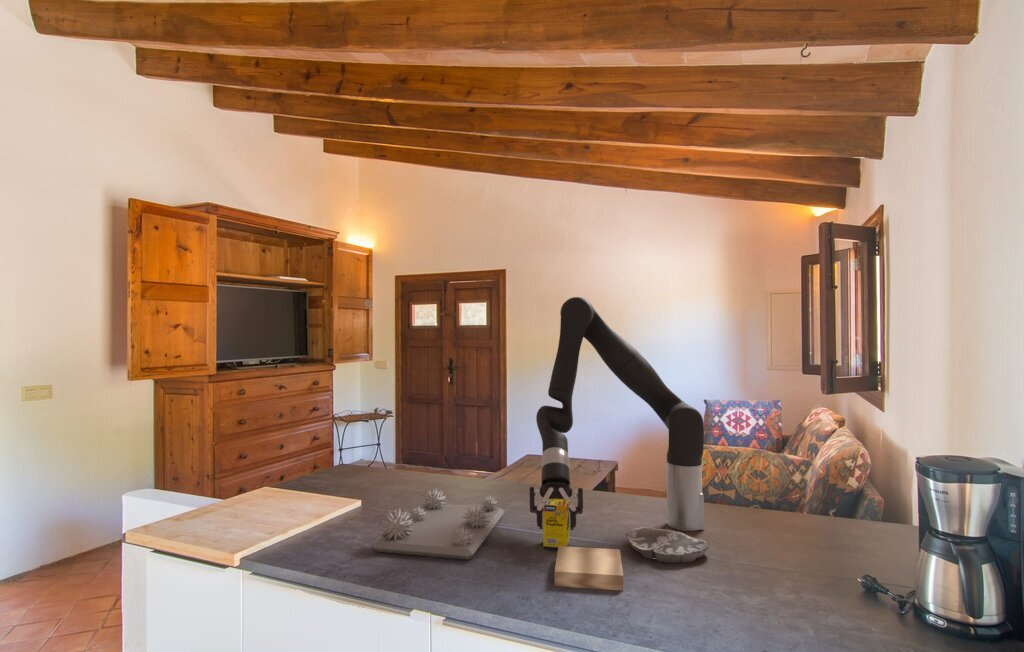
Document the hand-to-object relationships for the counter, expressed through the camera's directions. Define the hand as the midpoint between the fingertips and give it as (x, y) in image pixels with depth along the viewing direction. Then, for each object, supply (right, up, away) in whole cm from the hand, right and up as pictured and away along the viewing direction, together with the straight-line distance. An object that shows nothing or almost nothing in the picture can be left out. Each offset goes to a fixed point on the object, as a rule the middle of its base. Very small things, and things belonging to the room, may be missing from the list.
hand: (556, 527), depth 132 cm
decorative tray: (-29, -6, +11) cm, 32 cm away
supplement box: (0, -5, +1) cm, 5 cm away
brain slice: (+26, -6, -2) cm, 26 cm away
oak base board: (+6, -5, -15) cm, 16 cm away
